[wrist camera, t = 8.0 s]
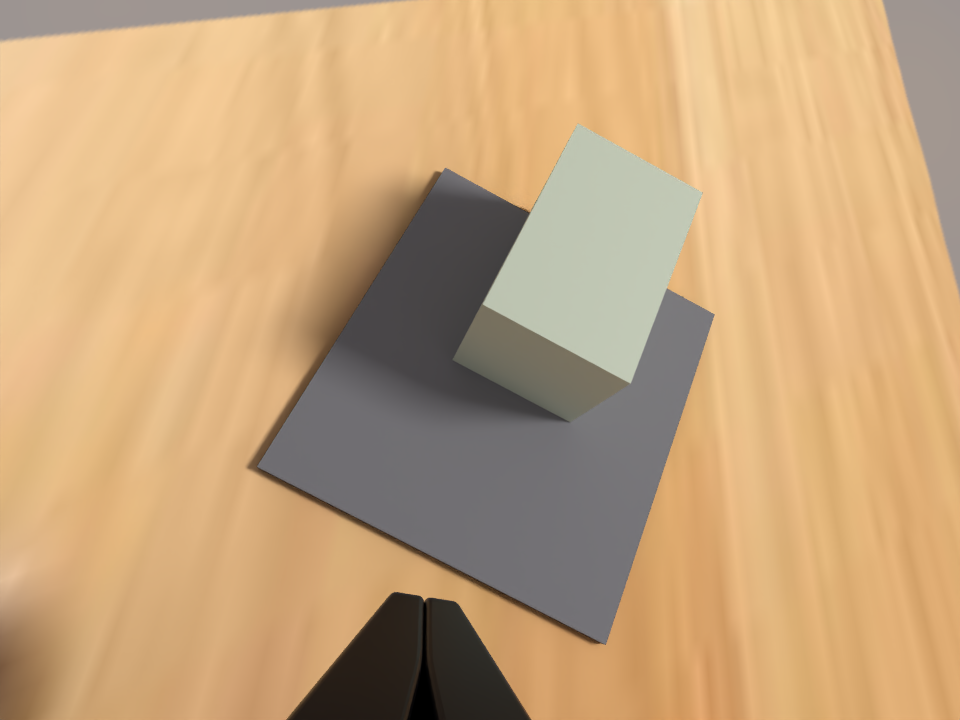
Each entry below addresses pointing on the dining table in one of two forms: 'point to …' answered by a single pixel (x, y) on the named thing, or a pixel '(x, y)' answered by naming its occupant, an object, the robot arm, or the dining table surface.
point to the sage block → (582, 279)
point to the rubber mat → (485, 427)
